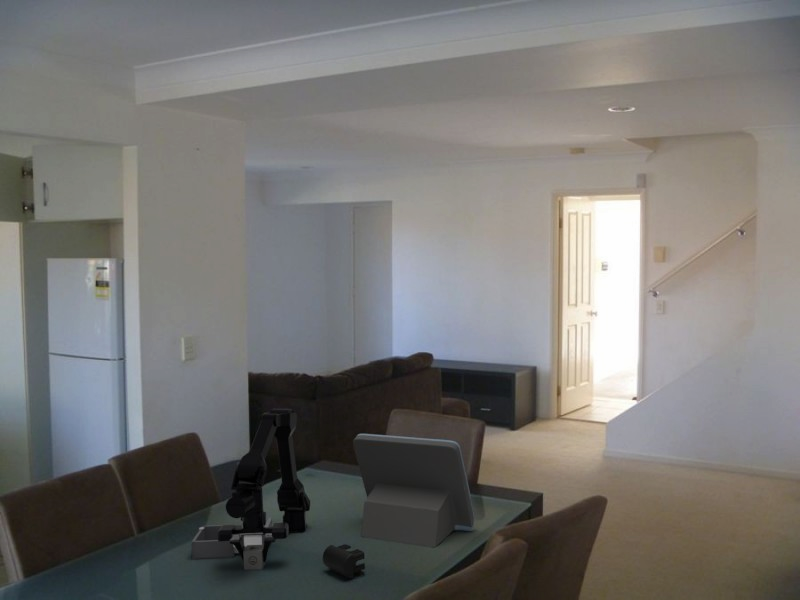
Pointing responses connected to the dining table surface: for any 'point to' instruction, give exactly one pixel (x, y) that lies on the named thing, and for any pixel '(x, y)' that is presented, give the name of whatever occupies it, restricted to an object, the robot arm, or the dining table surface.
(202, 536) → the housing
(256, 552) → the dice cube
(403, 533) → the touchscreen device
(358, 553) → the end cap
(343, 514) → the dining table surface
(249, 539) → the tray
